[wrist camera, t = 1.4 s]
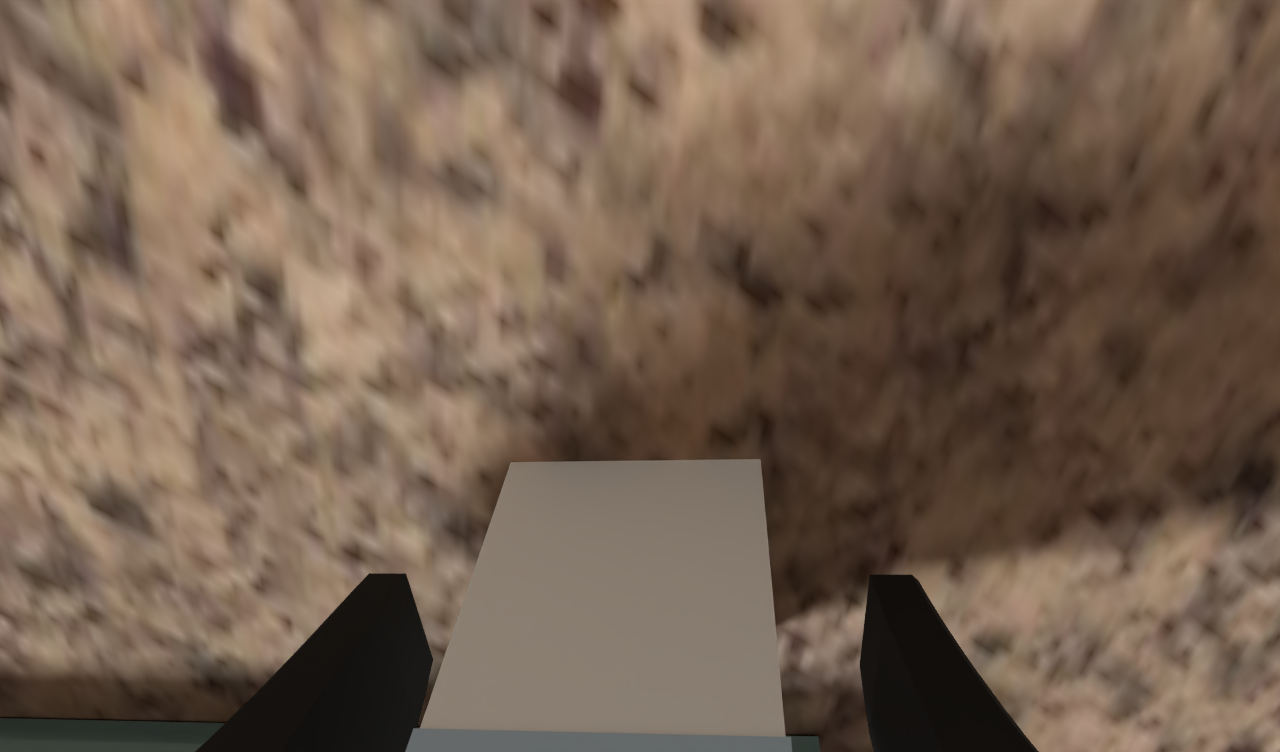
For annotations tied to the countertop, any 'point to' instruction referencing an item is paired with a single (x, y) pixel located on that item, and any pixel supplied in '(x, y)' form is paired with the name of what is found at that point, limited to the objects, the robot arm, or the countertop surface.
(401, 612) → the robot arm
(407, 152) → the countertop surface
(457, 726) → the milk carton
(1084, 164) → the countertop surface
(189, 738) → the tray
